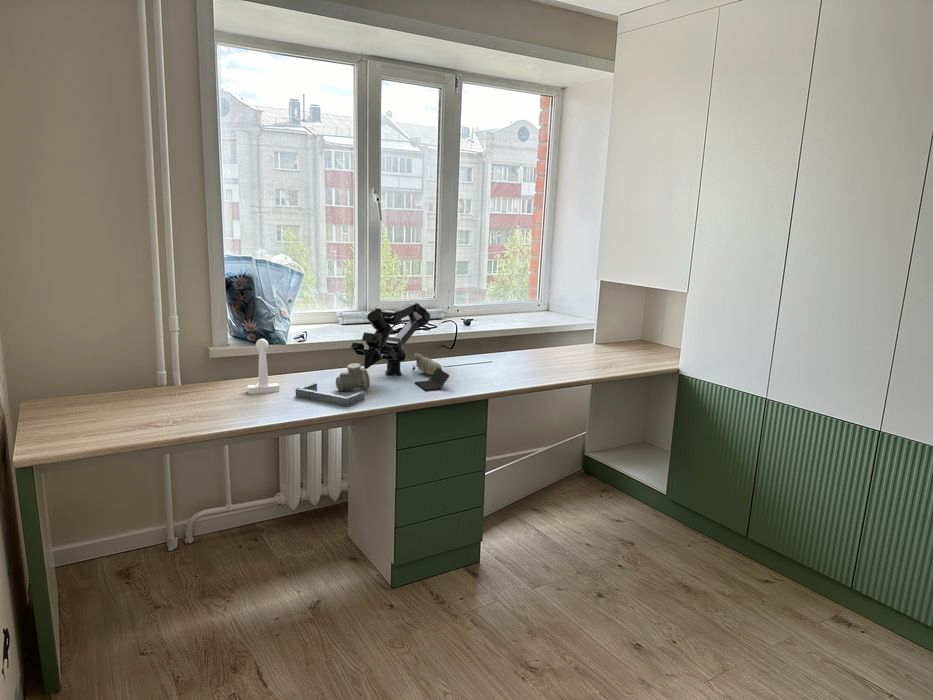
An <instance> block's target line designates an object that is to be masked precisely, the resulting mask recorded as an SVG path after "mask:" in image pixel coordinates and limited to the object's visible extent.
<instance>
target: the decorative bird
mask: <svg viewBox="0 0 933 700" xmlns="http://www.w3.org/2000/svg"><path fill="white" fill-rule="evenodd" d="M413 355H414V356H415V359H416V360H415V361H416V363H415V364H416V365H415V366H414V364H412V369H411V371H412V372H414V371H416V370H418V371H421V372H422V373H423V374H425V375H429V376H432V375H433V374H434V372H435V371H436V369H437V368H439V369H440V370H442V371H443V369H442V365H441V364H440V363H439V362H437V361H434V360H433V359H432V358H429V357H426V356H423V355H422V354H420V353H418V352H414V353H413ZM416 368H417V369H416Z"/></svg>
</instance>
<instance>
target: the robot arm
mask: <svg viewBox="0 0 933 700" xmlns="http://www.w3.org/2000/svg"><path fill="white" fill-rule="evenodd" d="M406 317H409V318H408V319H409V321H408V322H406V324H405V325H404V326H403V327H402V329H400V331H399V332H398V333H397V334H396V335H395V337H391V336H390V335H394V333H395V332H394V330H393V328H394V327H392V326H397V325H398V324H400V323H401V322H402V319H403V318H406ZM366 318H367V321H368V322H369V323H370V325H371V327H372V328H373V329H374V330H375V332H374V333H372V332H366V331H365V332H363V335H362V338H361V340H362V341H364V342H365V344H366V345H364V344H363V342H358V341H354V342H352V344H351V345H350V348H351V349H352V350H353V352H354V353H355V355H358V356H364V362H363V363H364V364H363V368H365V369H366V370H367V369H369V368H370V367H371V366H373V365H374V364H376V363H377V362H379V361H382V360H386V370H385V374H386V376H402V375H403V373H402V371H401V362H404V361H405V360H406V353H405V352H404V345H405V344H406V343H407V342H408V341H409V339H410V338H411V337H412V336H413V334H414V333H415V332H416V331H417V330H418V329H420V328H422V327H424V326H426V325H428V324H429V321H430V320H431V315H430V313H429V311H428V310H427V309H426V308H424V307H422V306H421V305H420V303H417V302H413V301H412V302H407V303H406V304H404V305H401V306H399V307H397V308H395V309H384V310H382V309H381V308H377V307H376V308H375V309H374V310H371V312H369V313H368V314H367V317H366Z"/></svg>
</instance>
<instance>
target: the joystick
mask: <svg viewBox="0 0 933 700" xmlns="http://www.w3.org/2000/svg"><path fill="white" fill-rule="evenodd" d="M255 348H256V349H257V350H258V382H257V383H256V384H251V385H250V384H249V385H247V387H246V389H247V394H248V395H249V394H251V395H252V394H253V395H255V394H256V395H258V394H268V393H269V394H270V393H277V392H279V391H280V384H279V383H278V382H274V383H270V382H269V375H268V373H269V372H268V363H267V353H266V351H267V349H268V348H269V342H268V340H266V339H265V338H259V339H258V340H256V343H255Z"/></svg>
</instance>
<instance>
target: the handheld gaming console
mask: <svg viewBox="0 0 933 700" xmlns="http://www.w3.org/2000/svg"><path fill="white" fill-rule="evenodd" d="M449 378H450V374H448V373H447V372H445V371H443V369H442V370H440V369H439V368H437V369H436V371H435V372H434V374H433V375H430V378H429V379H428V380H420V381H414V384H415V385H416V386H417V387H419V388H420V389H421V390H423V391H424V392H432V391H433V392H434V391H441V390H442V388H443V386H444V384H445V383H446V382H447V381H448V379H449Z"/></svg>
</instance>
